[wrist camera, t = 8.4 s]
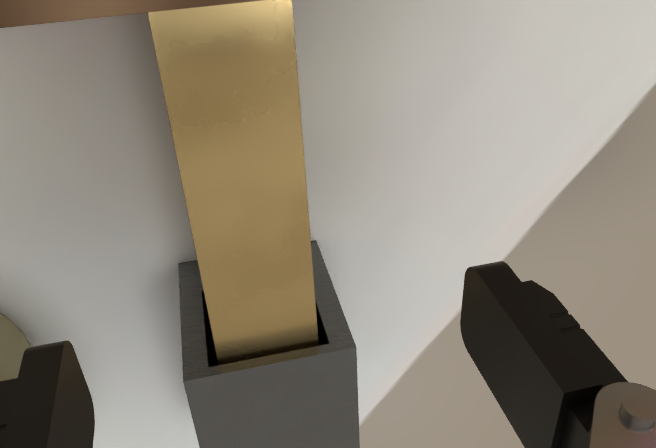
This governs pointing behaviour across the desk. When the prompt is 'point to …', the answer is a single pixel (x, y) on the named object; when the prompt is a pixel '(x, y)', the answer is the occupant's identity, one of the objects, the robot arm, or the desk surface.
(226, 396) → the grey sleeve
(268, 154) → the brass bar
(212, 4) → the walnut block
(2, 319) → the reusable coffee cup
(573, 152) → the desk surface
